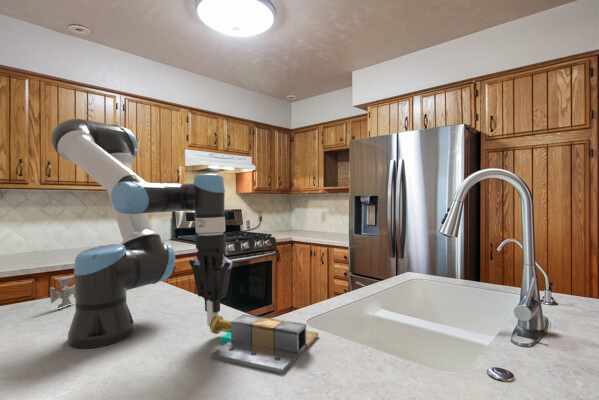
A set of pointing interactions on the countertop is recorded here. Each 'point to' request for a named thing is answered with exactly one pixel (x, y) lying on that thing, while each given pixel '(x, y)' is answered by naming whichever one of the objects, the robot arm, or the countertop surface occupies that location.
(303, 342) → the sliding bolt latch
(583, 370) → the countertop surface
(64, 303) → the cross
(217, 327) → the pin
